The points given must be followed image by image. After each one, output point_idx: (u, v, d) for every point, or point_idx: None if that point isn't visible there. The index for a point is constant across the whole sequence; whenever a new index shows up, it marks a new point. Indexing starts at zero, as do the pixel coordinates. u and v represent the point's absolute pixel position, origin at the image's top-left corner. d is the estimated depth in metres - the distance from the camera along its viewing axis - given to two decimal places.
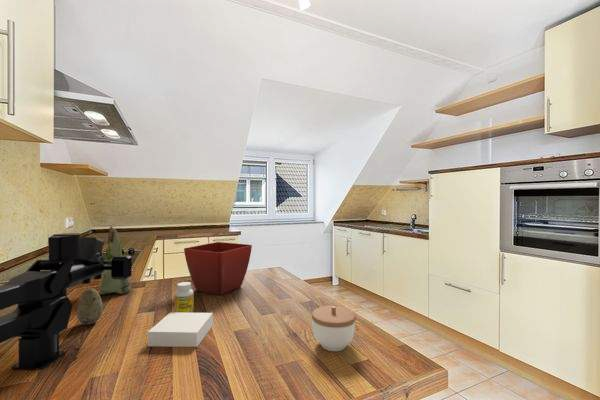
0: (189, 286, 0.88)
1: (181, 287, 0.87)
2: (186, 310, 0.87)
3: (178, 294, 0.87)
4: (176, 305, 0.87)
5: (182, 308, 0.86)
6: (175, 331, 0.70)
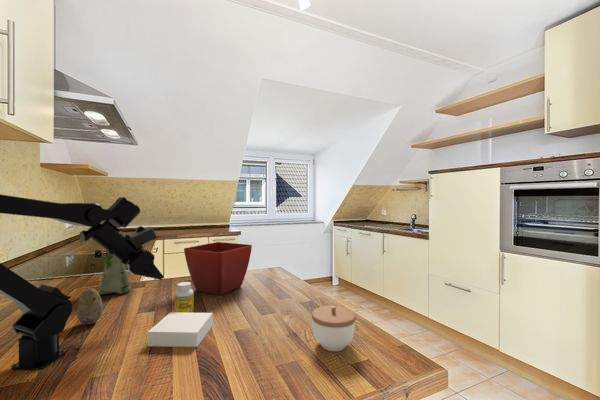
0: (189, 286, 0.88)
1: (181, 287, 0.87)
2: (186, 310, 0.87)
3: (178, 294, 0.87)
4: (176, 305, 0.87)
5: (182, 308, 0.86)
6: (175, 331, 0.70)
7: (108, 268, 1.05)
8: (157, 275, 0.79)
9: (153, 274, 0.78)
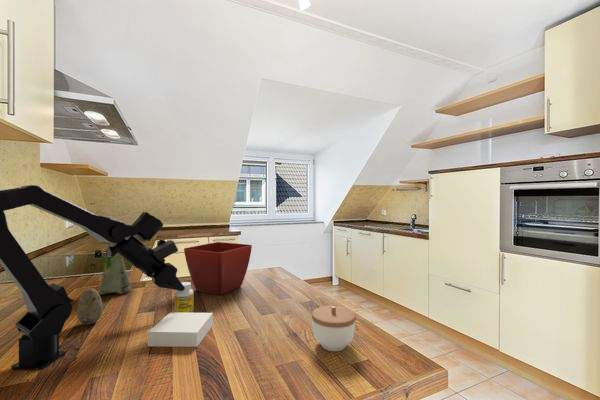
0: (189, 286, 0.88)
1: None
2: (186, 310, 0.87)
3: (178, 294, 0.87)
4: (176, 305, 0.87)
5: (182, 308, 0.86)
6: (175, 331, 0.70)
7: (108, 268, 1.05)
8: (179, 287, 0.83)
9: (175, 286, 0.82)
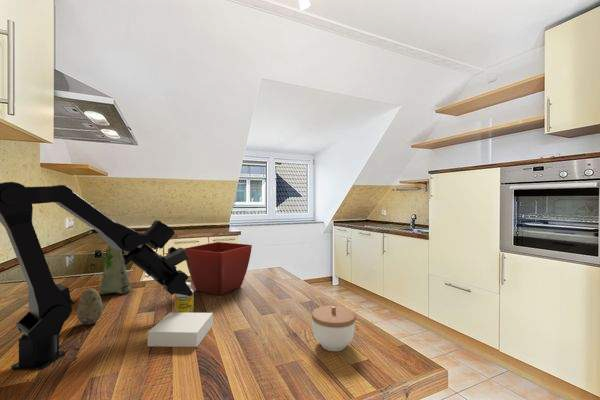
0: (189, 286, 0.88)
1: None
2: (186, 310, 0.87)
3: (178, 294, 0.87)
4: (176, 305, 0.87)
5: (182, 308, 0.86)
6: (175, 331, 0.70)
7: (108, 268, 1.05)
8: (188, 292, 0.86)
9: (184, 291, 0.85)
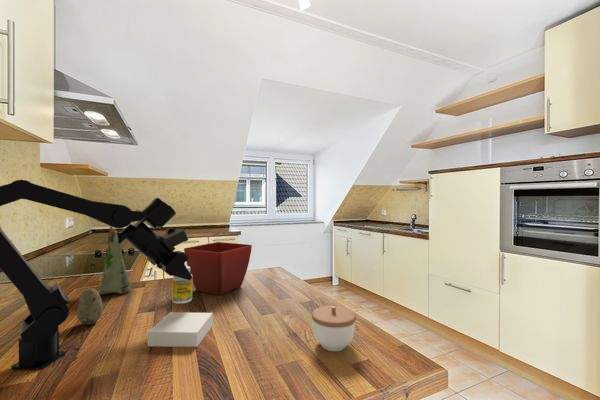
0: (188, 270, 0.83)
1: None
2: (185, 295, 0.81)
3: (176, 277, 0.81)
4: (174, 290, 0.81)
5: (181, 293, 0.81)
6: (175, 331, 0.70)
7: (108, 268, 1.05)
8: (187, 275, 0.81)
9: (183, 274, 0.80)
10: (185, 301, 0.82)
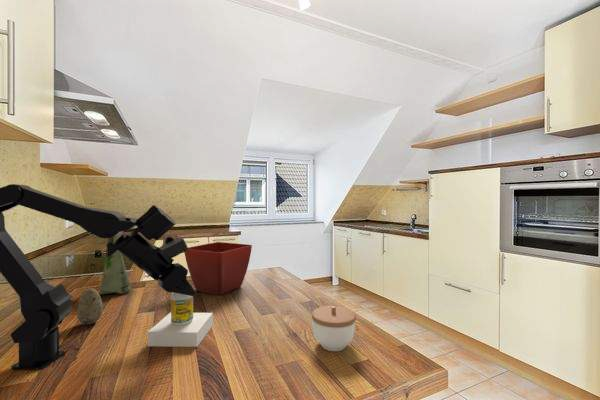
0: None
1: None
2: (184, 316, 0.74)
3: (175, 297, 0.73)
4: (172, 310, 0.74)
5: (180, 314, 0.73)
6: (175, 331, 0.70)
7: (108, 268, 1.05)
8: (189, 291, 0.72)
9: (185, 290, 0.71)
10: (185, 323, 0.74)
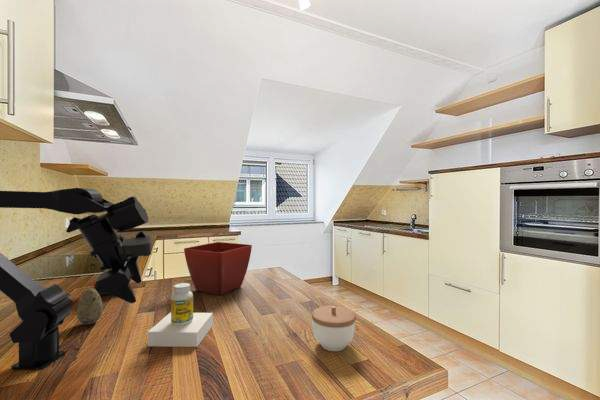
0: (188, 288, 0.75)
1: (179, 290, 0.74)
2: (184, 316, 0.74)
3: (175, 297, 0.73)
4: (172, 310, 0.74)
5: (180, 314, 0.73)
6: (175, 331, 0.70)
7: None
8: (128, 298, 0.67)
9: (124, 296, 0.66)
10: (185, 323, 0.74)
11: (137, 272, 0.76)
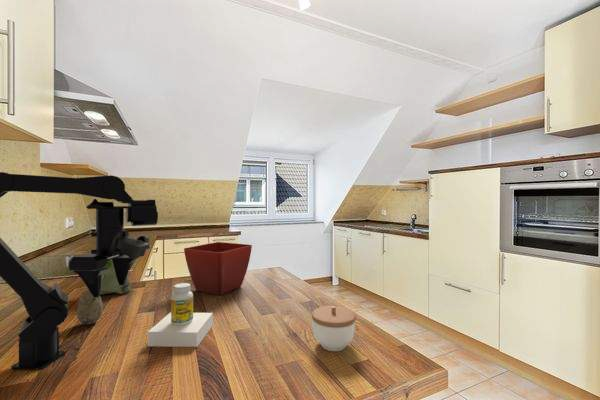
0: (188, 288, 0.75)
1: (179, 289, 0.74)
2: (184, 316, 0.74)
3: (175, 297, 0.73)
4: (173, 310, 0.74)
5: (180, 314, 0.73)
6: (175, 331, 0.70)
7: (108, 268, 1.05)
8: (93, 290, 0.66)
9: (90, 285, 0.65)
10: (185, 323, 0.74)
11: (124, 274, 0.76)
